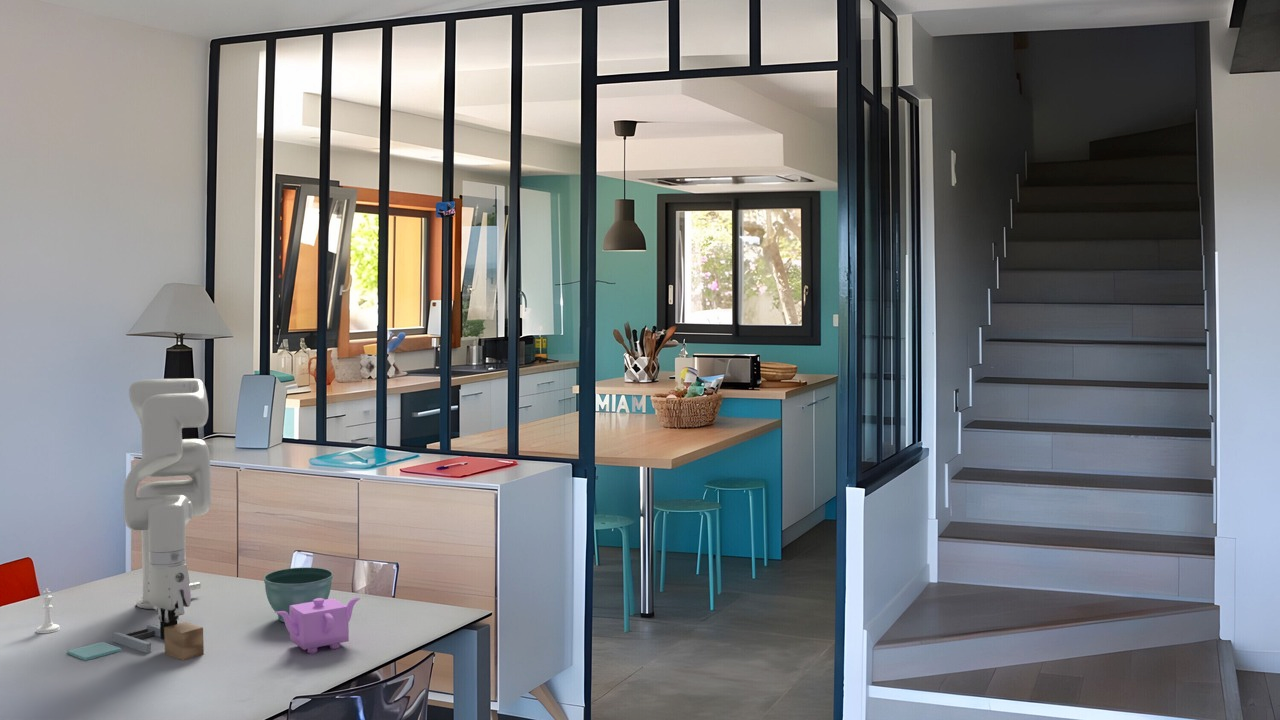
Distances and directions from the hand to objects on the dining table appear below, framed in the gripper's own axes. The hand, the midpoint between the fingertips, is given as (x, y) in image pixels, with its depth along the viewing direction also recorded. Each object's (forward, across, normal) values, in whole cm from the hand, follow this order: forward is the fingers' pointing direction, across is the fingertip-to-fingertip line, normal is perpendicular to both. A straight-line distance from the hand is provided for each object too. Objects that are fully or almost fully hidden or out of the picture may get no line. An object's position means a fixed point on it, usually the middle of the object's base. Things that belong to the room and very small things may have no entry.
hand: (169, 637), depth 242 cm
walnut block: (+3, -6, 0) cm, 6 cm away
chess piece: (+3, +36, +9) cm, 38 cm away
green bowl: (+3, -4, -32) cm, 32 cm away
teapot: (+3, -26, -21) cm, 33 cm away
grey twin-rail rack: (+3, +8, 0) cm, 9 cm away
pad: (+3, +11, +11) cm, 16 cm away
